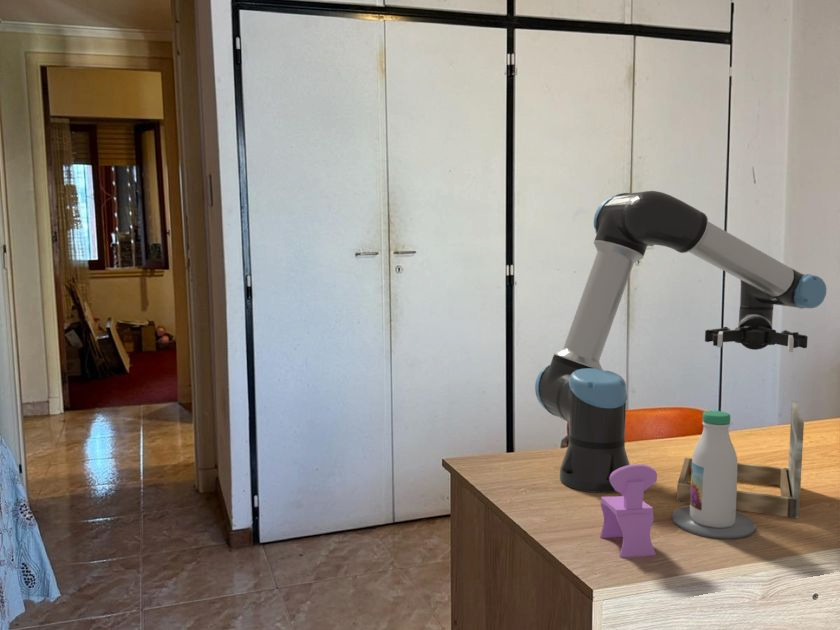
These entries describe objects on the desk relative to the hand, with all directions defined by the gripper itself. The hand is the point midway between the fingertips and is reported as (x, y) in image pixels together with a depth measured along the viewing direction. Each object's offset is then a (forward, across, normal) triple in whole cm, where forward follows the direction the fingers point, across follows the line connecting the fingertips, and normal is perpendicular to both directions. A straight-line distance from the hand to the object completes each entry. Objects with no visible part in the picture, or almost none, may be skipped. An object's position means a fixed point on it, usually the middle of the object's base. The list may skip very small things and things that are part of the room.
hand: (754, 343), depth 152 cm
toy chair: (+42, +18, -31) cm, 55 cm away
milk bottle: (+27, +6, -30) cm, 41 cm away
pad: (+26, +5, -30) cm, 40 cm away
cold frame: (+7, +3, -30) cm, 31 cm away
